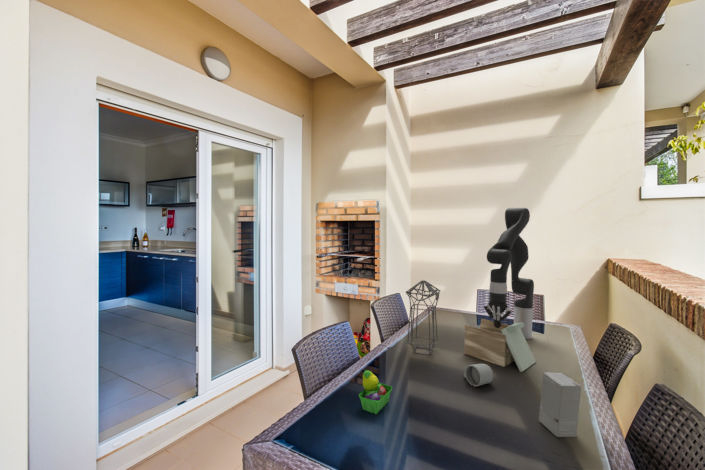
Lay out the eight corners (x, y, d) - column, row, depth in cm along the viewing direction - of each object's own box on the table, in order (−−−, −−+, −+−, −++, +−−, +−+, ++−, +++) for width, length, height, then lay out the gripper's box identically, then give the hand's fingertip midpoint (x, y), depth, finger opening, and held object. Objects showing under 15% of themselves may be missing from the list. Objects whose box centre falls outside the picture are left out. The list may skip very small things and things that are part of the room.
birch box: (481, 345, 163) (481, 318, 163) (519, 357, 149) (520, 327, 149) (464, 353, 152) (465, 324, 152) (504, 366, 138) (505, 335, 138)
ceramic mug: (495, 385, 121) (495, 365, 121) (480, 390, 118) (480, 369, 118) (472, 374, 131) (473, 356, 131) (458, 378, 127) (458, 359, 127)
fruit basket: (378, 417, 99) (378, 382, 99) (354, 409, 104) (354, 375, 104) (393, 401, 109) (393, 369, 109) (370, 394, 114) (371, 363, 114)
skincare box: (537, 421, 99) (539, 371, 99) (559, 420, 100) (560, 370, 99) (557, 439, 91) (559, 384, 90) (580, 438, 91) (582, 384, 91)
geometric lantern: (403, 354, 151) (404, 281, 151) (410, 344, 165) (411, 277, 166) (437, 359, 145) (438, 283, 145) (441, 348, 159) (441, 279, 160)
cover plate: (515, 323, 150) (525, 320, 146) (533, 362, 144) (544, 360, 140) (500, 329, 140) (511, 327, 136) (520, 371, 134) (531, 370, 130)
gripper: (516, 292, 146) (515, 329, 146) (488, 288, 156) (487, 322, 156) (509, 294, 141) (508, 332, 141) (480, 290, 151) (480, 325, 151)
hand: (497, 327), depth 149 cm, fingers closed
